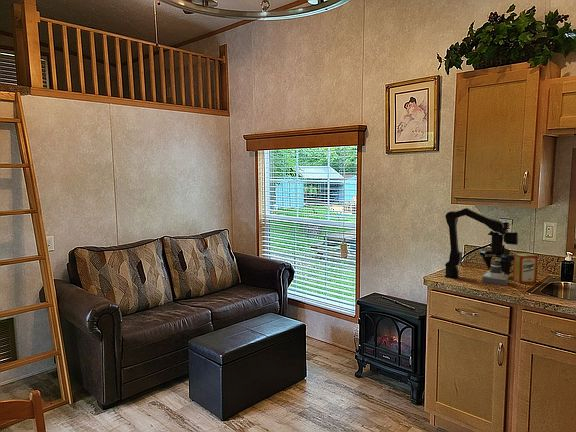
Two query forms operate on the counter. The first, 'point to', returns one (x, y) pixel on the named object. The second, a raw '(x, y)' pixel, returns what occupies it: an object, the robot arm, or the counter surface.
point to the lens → (495, 267)
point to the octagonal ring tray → (495, 278)
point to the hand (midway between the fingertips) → (495, 270)
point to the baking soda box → (525, 268)
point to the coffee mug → (507, 269)
